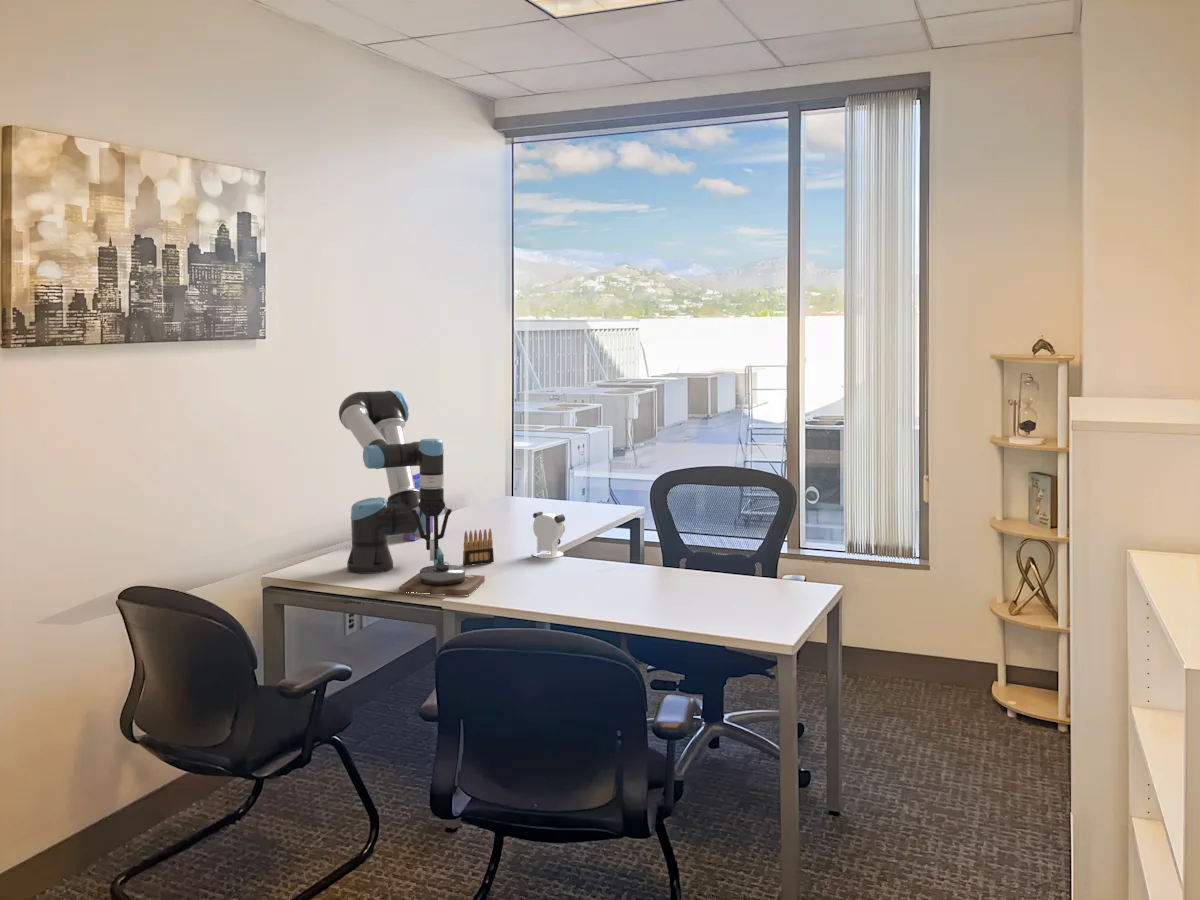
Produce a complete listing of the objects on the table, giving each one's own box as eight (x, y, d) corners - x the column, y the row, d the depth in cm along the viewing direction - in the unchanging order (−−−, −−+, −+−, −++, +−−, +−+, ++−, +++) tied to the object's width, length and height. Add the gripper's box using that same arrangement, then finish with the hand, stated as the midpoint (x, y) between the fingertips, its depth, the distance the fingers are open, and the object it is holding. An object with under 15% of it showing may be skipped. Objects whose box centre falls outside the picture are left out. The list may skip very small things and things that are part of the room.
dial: (468, 583, 309) (468, 560, 308) (422, 586, 305) (422, 563, 304) (457, 566, 331) (457, 545, 330) (414, 568, 327) (414, 547, 326)
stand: (399, 593, 307) (398, 586, 307) (418, 578, 325) (418, 572, 324) (468, 596, 303) (468, 589, 303) (484, 581, 321) (484, 574, 321)
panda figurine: (571, 554, 361) (571, 512, 359) (553, 560, 351) (552, 517, 350) (544, 550, 367) (543, 509, 365) (525, 555, 358) (525, 514, 356)
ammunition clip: (464, 565, 343) (464, 531, 341) (462, 564, 344) (462, 530, 343) (493, 562, 348) (493, 528, 346) (492, 561, 349) (491, 527, 348)
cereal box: (415, 541, 382) (413, 478, 379) (403, 540, 383) (402, 478, 380) (433, 532, 399) (431, 472, 396) (421, 531, 400) (420, 472, 397)
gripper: (410, 489, 316) (411, 562, 319) (451, 488, 318) (452, 562, 320) (412, 485, 324) (413, 557, 326) (452, 485, 325) (453, 557, 328)
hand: (432, 559), depth 323 cm, fingers closed
